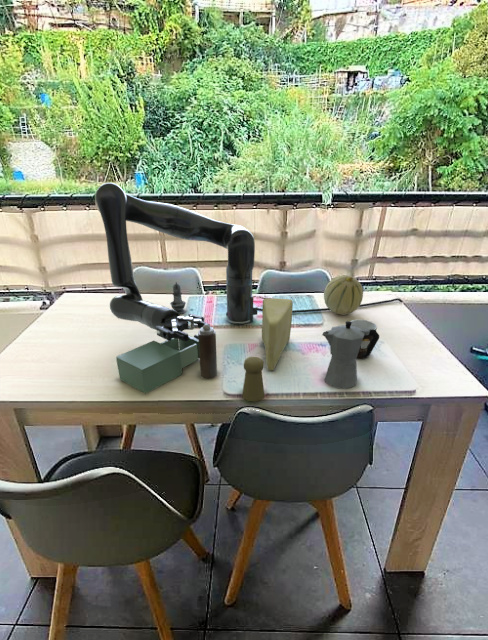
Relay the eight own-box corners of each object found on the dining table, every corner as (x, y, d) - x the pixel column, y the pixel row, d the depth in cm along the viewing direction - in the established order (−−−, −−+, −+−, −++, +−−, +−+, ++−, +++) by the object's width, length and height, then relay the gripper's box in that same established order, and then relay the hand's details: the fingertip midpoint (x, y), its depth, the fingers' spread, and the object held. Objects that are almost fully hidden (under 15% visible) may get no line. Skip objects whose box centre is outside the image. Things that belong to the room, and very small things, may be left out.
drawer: (192, 343, 136) (191, 327, 133) (215, 353, 131) (214, 336, 128) (151, 363, 125) (149, 346, 122) (174, 374, 119) (173, 356, 116)
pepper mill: (216, 370, 123) (214, 320, 115) (218, 378, 119) (216, 327, 111) (199, 371, 122) (196, 321, 114) (201, 379, 118) (198, 328, 110)
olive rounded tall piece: (241, 389, 114) (241, 353, 108) (263, 388, 114) (264, 353, 109) (243, 402, 109) (243, 365, 103) (265, 400, 109) (267, 364, 104)
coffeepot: (320, 389, 114) (327, 329, 105) (314, 372, 122) (320, 315, 113) (376, 388, 114) (388, 328, 105) (366, 371, 123) (376, 314, 113)
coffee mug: (372, 350, 134) (378, 321, 129) (370, 362, 127) (376, 332, 122) (336, 345, 137) (340, 317, 132) (332, 356, 130) (336, 327, 125)
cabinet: (156, 362, 127) (153, 340, 123) (182, 374, 121) (180, 351, 117) (119, 379, 118) (115, 356, 115) (145, 393, 112) (142, 369, 108)
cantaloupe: (331, 303, 171) (336, 267, 163) (366, 311, 163) (372, 273, 156) (315, 314, 160) (318, 276, 153) (350, 323, 153) (356, 283, 145)
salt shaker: (187, 309, 165) (185, 279, 158) (184, 315, 160) (182, 284, 153) (173, 308, 165) (170, 279, 159) (169, 314, 160) (166, 284, 154)
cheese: (287, 372, 122) (290, 325, 114) (254, 370, 123) (254, 323, 115) (290, 340, 141) (293, 297, 133) (261, 338, 142) (262, 296, 134)
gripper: (140, 313, 119) (179, 328, 110) (177, 300, 128) (215, 313, 119) (143, 337, 122) (181, 354, 114) (179, 322, 132) (216, 336, 123)
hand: (198, 333), depth 116 cm, fingers open, 8 cm apart
